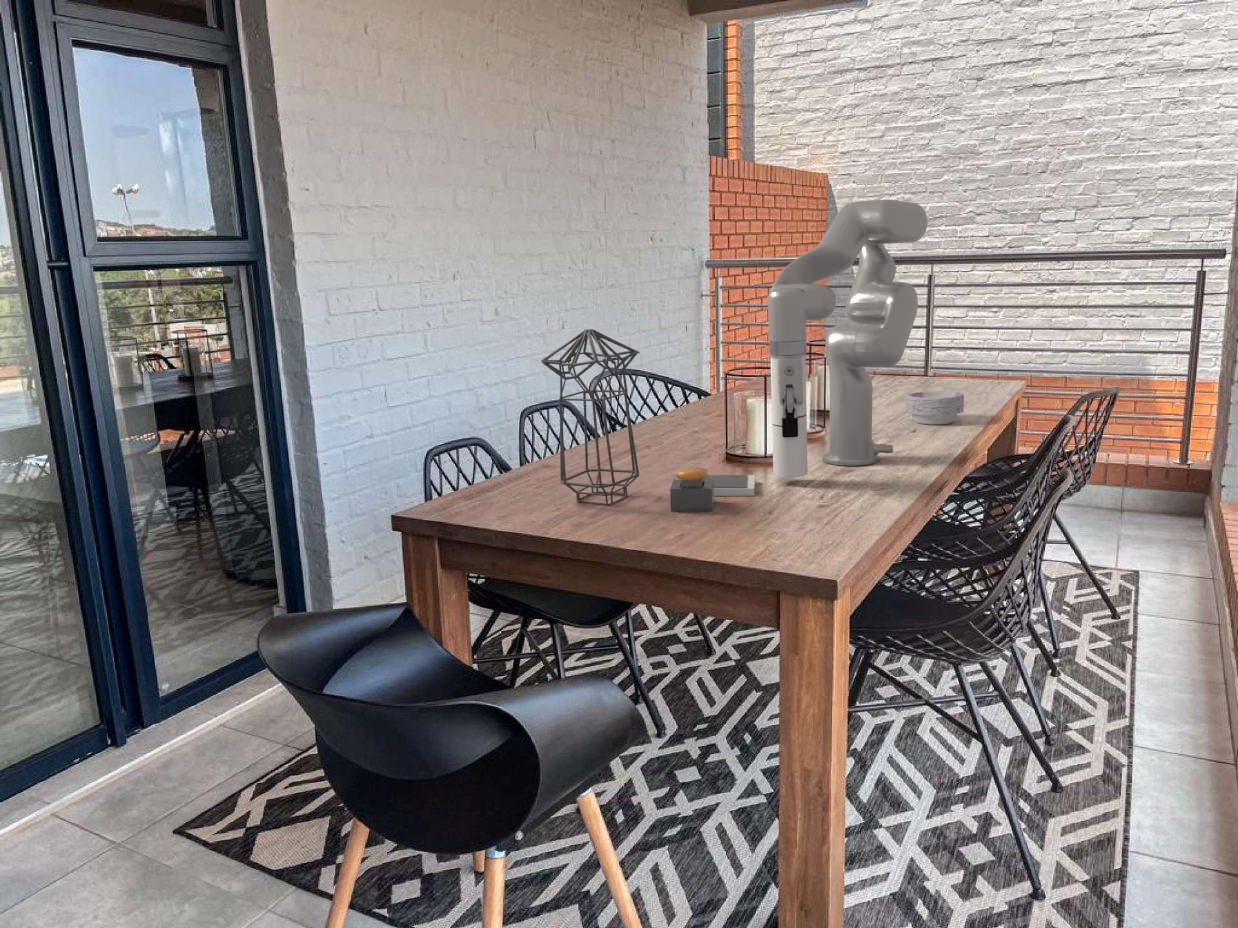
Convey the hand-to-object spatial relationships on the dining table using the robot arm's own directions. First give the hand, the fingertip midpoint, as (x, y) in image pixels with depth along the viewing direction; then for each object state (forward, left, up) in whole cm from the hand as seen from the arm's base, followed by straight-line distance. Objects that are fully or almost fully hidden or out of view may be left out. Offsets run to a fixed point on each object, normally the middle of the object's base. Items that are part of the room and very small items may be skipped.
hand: (789, 432), depth 203 cm
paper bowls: (-42, -69, -11) cm, 82 cm away
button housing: (+19, +19, -11) cm, 29 cm away
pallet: (+14, +5, -11) cm, 19 cm away
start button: (+19, +19, -9) cm, 28 cm away
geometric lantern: (+39, +13, -11) cm, 43 cm away
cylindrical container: (0, 0, -9) cm, 9 cm away
